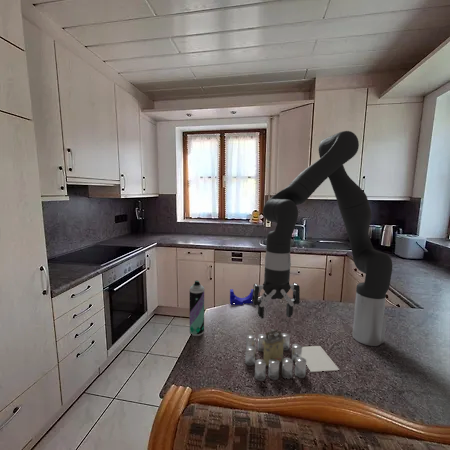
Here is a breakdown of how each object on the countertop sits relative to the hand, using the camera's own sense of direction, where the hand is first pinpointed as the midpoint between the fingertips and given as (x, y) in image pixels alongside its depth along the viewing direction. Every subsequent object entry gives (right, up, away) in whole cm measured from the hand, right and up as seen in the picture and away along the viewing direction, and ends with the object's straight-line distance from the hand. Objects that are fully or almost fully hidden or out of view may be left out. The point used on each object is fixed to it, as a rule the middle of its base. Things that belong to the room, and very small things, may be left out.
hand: (274, 316), depth 78 cm
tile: (+14, -15, +3) cm, 20 cm away
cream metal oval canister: (0, -15, +2) cm, 15 cm away
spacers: (0, -15, +2) cm, 15 cm away
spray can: (-26, -12, +18) cm, 34 cm away
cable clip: (-7, -10, +45) cm, 46 cm away
